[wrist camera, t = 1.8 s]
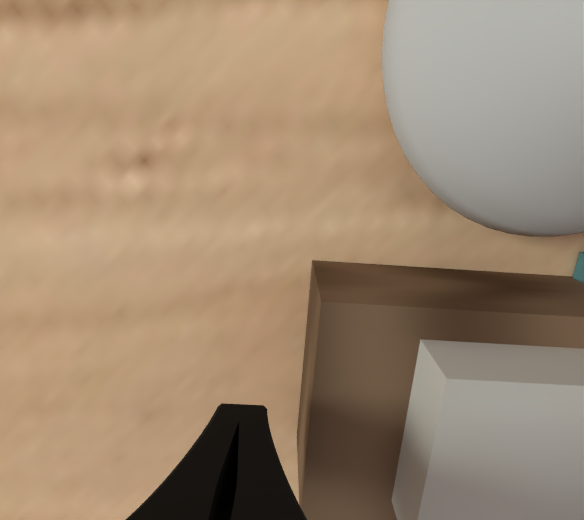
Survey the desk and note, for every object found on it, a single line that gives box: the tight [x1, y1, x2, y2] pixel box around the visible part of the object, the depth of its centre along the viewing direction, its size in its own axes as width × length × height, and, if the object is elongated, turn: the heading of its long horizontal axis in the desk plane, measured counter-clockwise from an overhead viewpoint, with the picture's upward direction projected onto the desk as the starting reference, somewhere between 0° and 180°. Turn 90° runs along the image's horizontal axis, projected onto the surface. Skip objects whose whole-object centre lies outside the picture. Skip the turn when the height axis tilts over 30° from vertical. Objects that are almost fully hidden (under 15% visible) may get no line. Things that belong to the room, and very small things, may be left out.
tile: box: [391, 339, 584, 520], centre depth 12 cm, size 6×6×2 cm
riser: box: [297, 261, 584, 520], centre depth 15 cm, size 10×8×4 cm
